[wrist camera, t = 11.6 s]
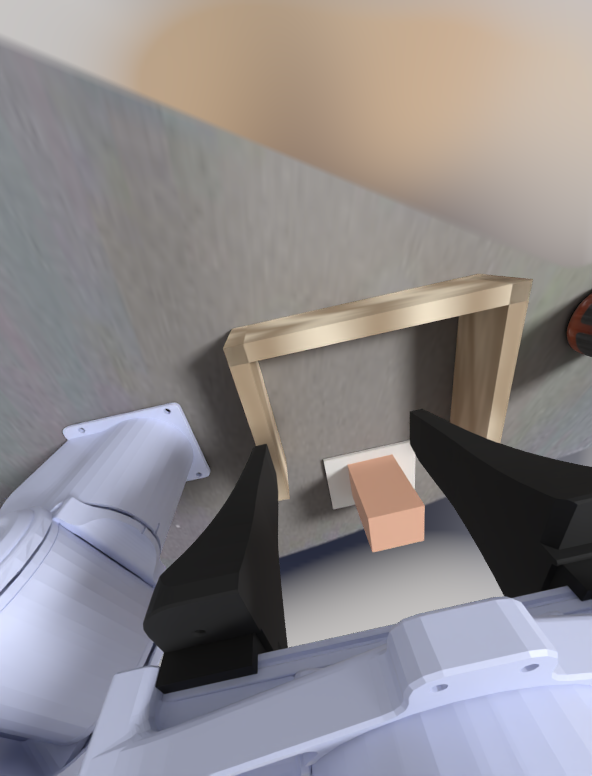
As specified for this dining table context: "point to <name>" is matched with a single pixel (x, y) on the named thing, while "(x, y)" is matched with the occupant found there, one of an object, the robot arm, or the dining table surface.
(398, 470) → the block
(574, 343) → the supplement bottle
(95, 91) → the dining table surface
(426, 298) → the wooden u-shaped frame
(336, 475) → the pad
